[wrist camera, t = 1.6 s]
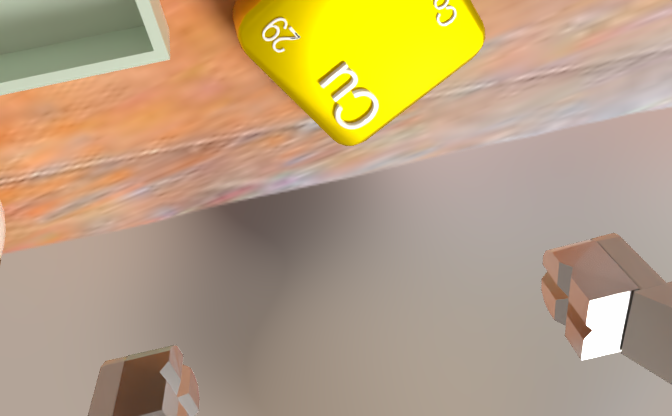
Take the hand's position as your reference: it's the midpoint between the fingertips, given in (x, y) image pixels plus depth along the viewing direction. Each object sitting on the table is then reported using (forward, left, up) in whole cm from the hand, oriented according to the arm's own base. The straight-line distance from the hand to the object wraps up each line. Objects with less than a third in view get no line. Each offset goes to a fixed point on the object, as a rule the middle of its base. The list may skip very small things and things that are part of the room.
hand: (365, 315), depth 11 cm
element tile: (+8, +8, -33) cm, 35 cm away
